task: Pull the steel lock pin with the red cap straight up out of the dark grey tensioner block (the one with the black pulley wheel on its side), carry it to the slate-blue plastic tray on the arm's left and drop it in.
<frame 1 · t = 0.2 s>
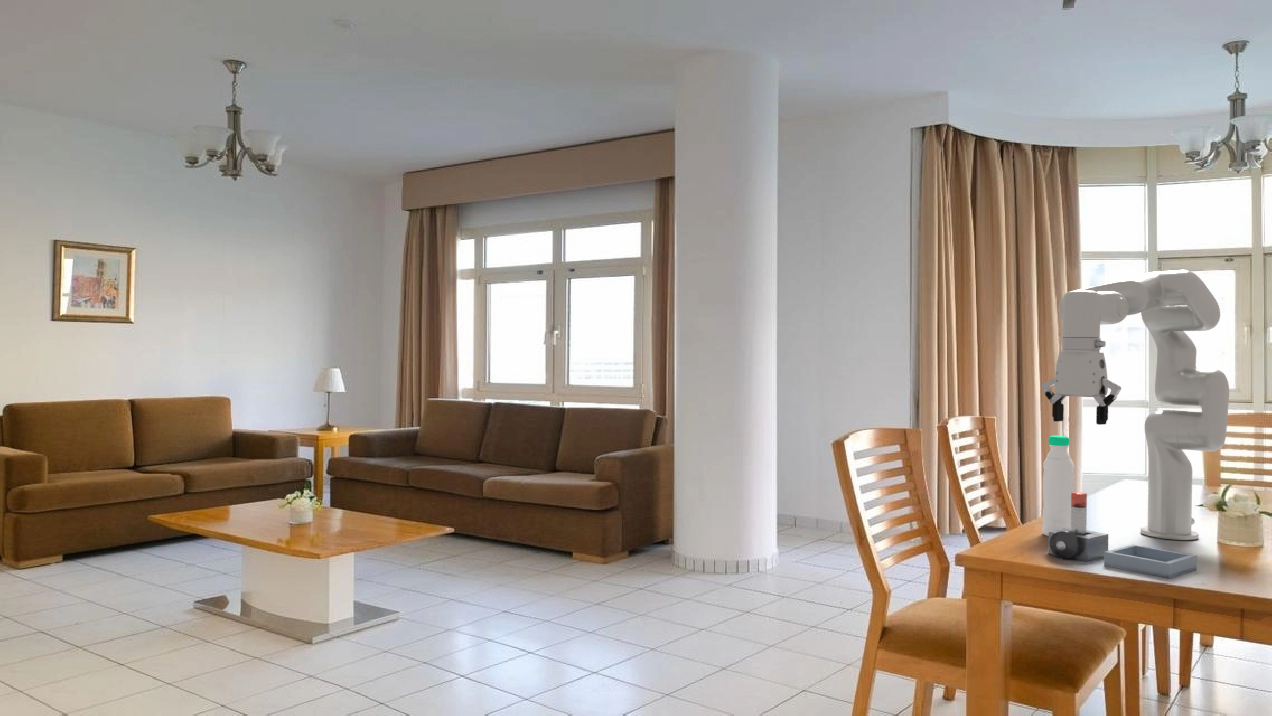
hand: (1079, 422, 199), 30 cm above the table, fingers open, 9 cm apart
tray: (1149, 567, 191), on the table
lock pin: (1078, 554, 203), resting in tensioner block
water bottle: (1057, 536, 224), on the table
tensioner block: (1078, 554, 203), on the table
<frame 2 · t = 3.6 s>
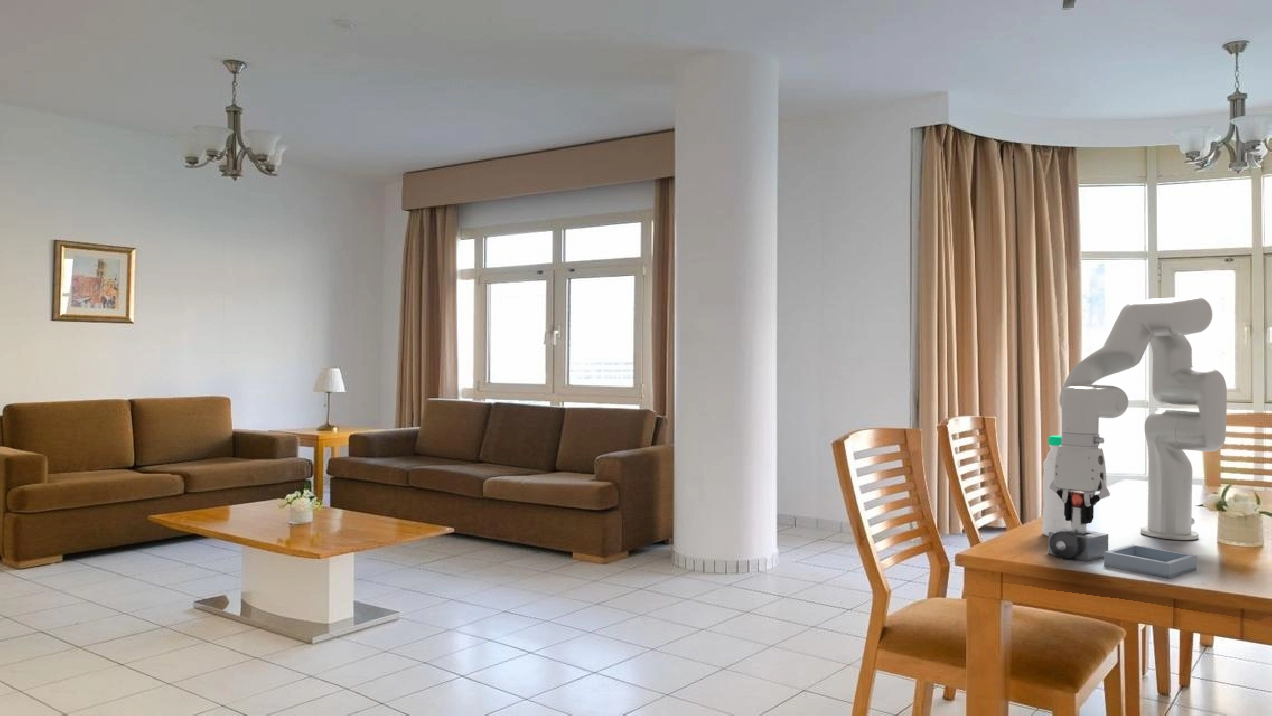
hand: (1078, 520, 203), 8 cm above the table, fingers closed on lock pin, 3 cm apart
lock pin: (1078, 554, 203), resting in tensioner block, touching gripper
everything else where it was.
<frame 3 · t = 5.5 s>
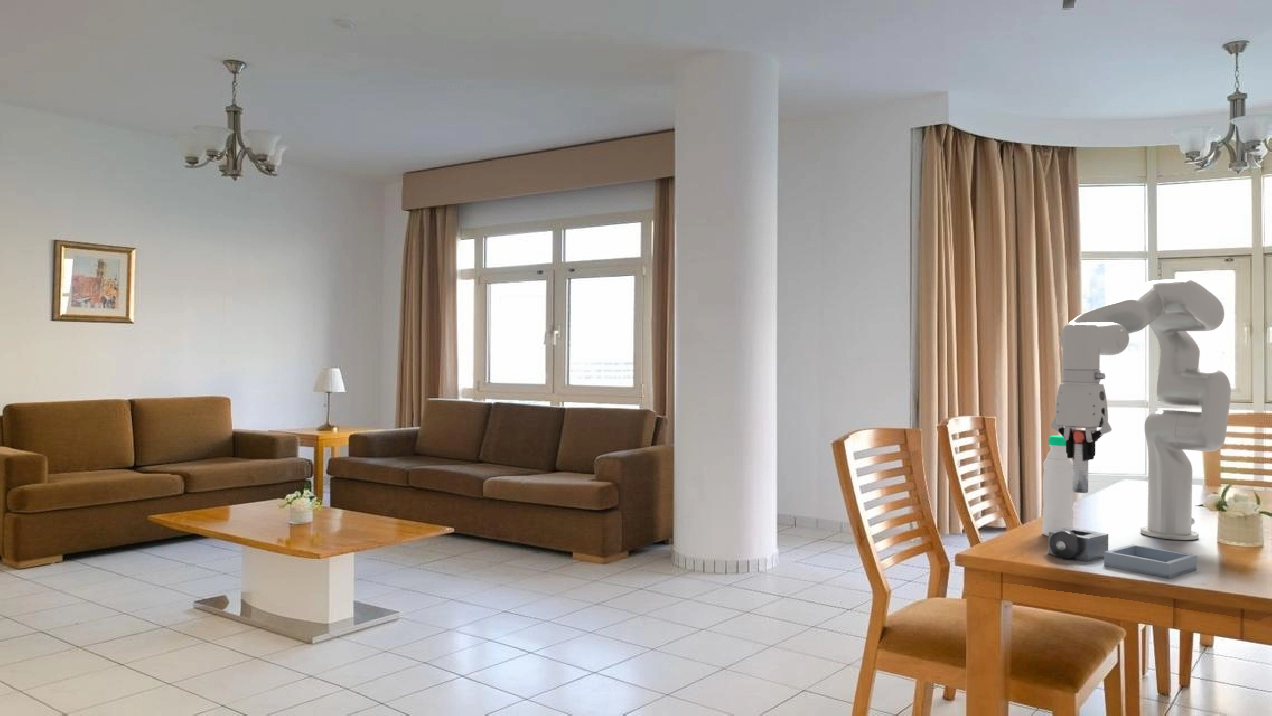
hand: (1080, 457, 203), 22 cm above the table, fingers closed on lock pin, 3 cm apart
lock pin: (1080, 491, 203), point 14 cm above the table, touching gripper
everything else where it was.
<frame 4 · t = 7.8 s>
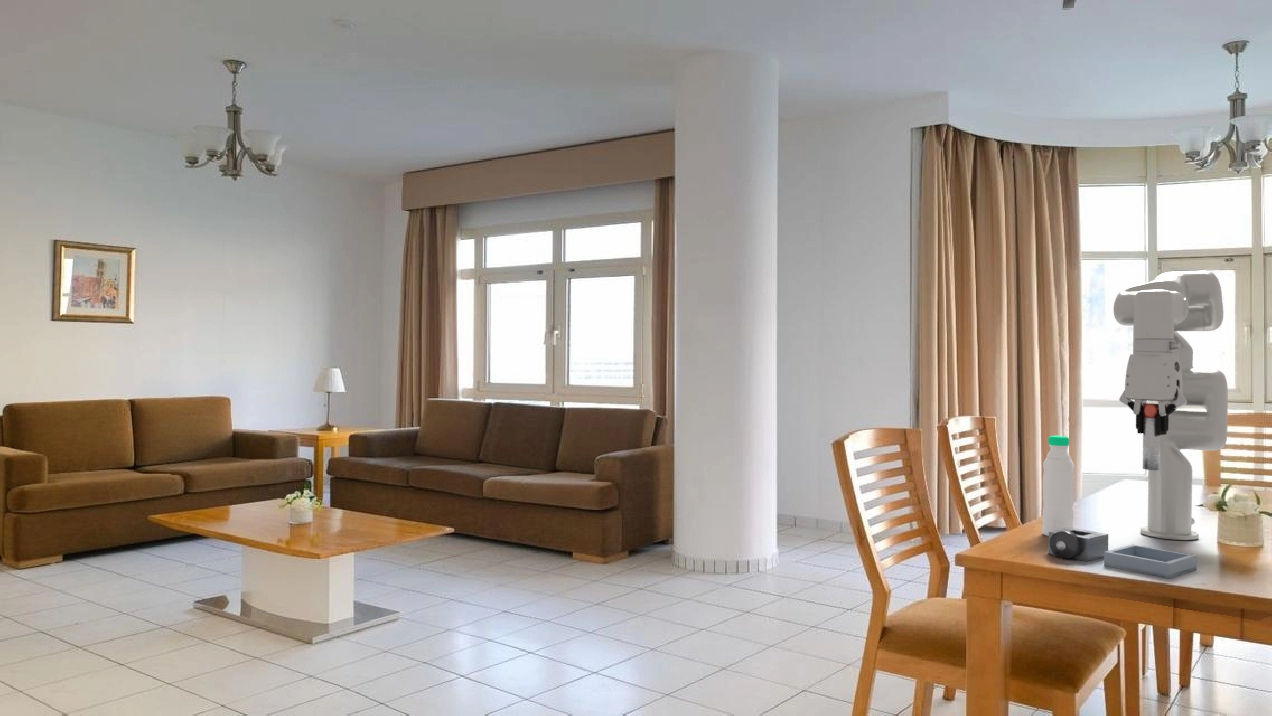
hand: (1151, 433, 191), 29 cm above the table, fingers closed on lock pin, 3 cm apart
lock pin: (1151, 469, 191), point 21 cm above the table, touching gripper
everything else where it was.
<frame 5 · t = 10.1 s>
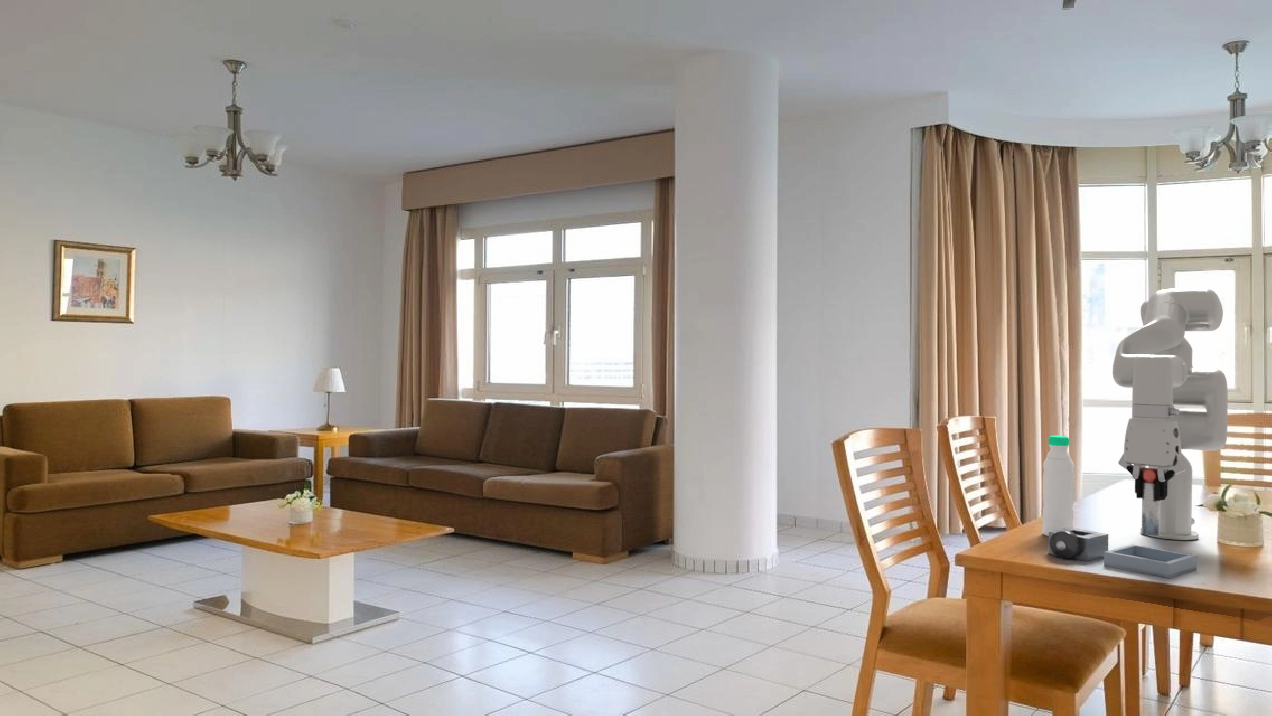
hand: (1150, 497, 191), 15 cm above the table, fingers closed on lock pin, 3 cm apart
lock pin: (1150, 534, 191), point 7 cm above the table, touching gripper
everything else where it was.
when the fingers open (10 cm above the table, at t = 11.9 s): lock pin drops 1 cm, resting on tray.
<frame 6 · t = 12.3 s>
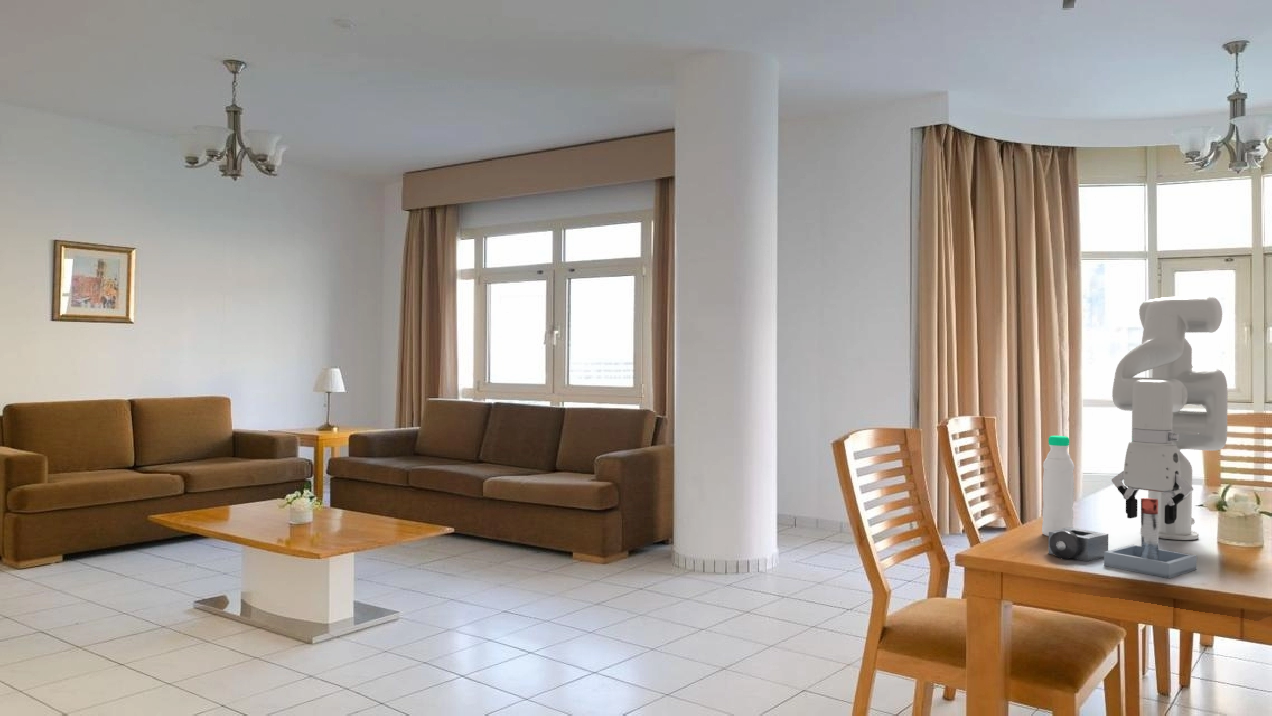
hand: (1150, 519, 191), 10 cm above the table, fingers open, 7 cm apart
lock pin: (1149, 564, 191), point 1 cm above the table, touching tray
everything else where it was.
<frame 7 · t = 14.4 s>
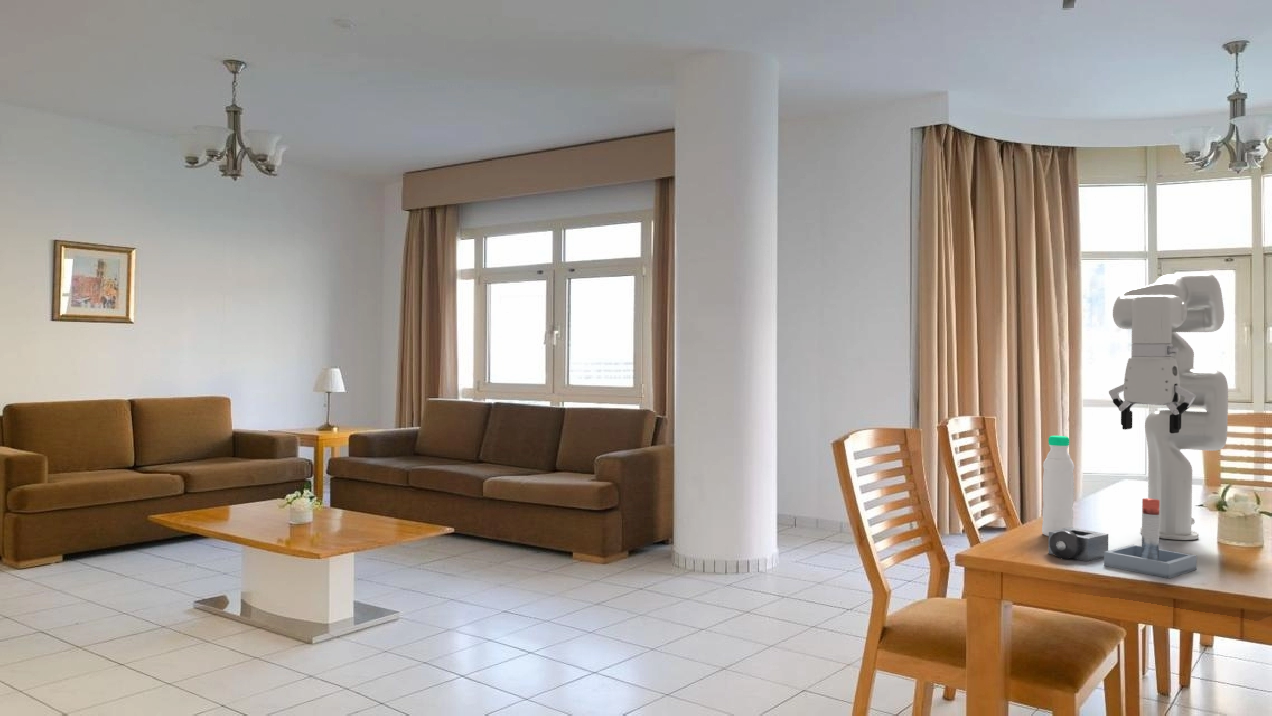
hand: (1150, 430, 194), 29 cm above the table, fingers open, 9 cm apart
nothing on the table moved.
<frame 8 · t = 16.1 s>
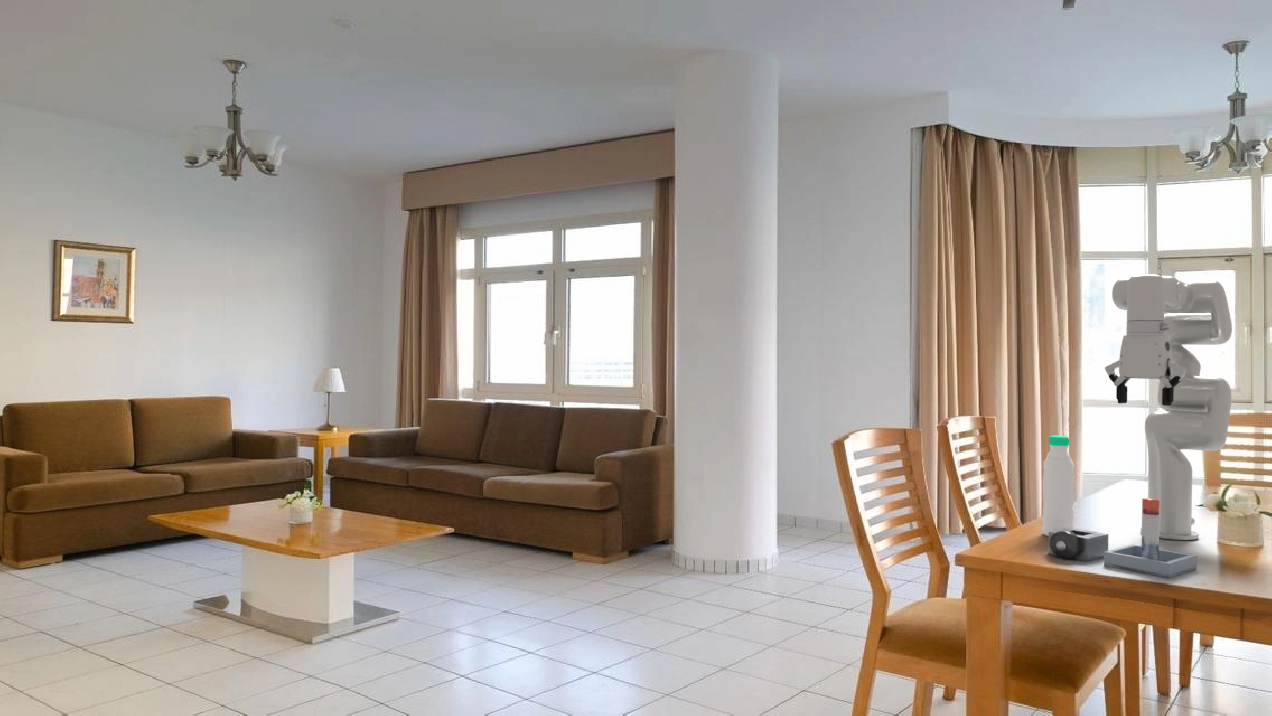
hand: (1144, 404, 204), 34 cm above the table, fingers open, 9 cm apart
nothing on the table moved.
at the end: lock pin inside the target area on the tray (0.0 cm from its centre), point 0.6 cm above the tray's base; the gripper is holding nothing; lock pin touching tray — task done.
